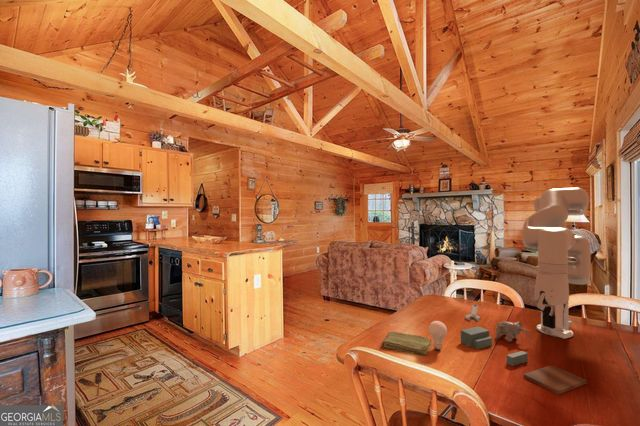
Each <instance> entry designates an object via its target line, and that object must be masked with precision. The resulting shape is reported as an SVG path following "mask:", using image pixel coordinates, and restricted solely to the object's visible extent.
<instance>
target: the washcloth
mask: <svg viewBox="0 0 640 426" xmlns="http://www.w3.org/2000/svg"><path fill="white" fill-rule="evenodd" d="M431 342H432V340H431V338H428V337H425V336H422V335H416V334H409V333H408V334H407V333H403V332H398V331H389V332H387V334H386V336H385V338H384V340H382V342H381V346H382V347H383V348H385V349H388V350H393V351H398V352H399V351H400V352H407V353H410V354H411V353H413V354H418V355H422V356H427V353H428V351H429V349H430V345H431Z"/></svg>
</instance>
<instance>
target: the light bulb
mask: <svg viewBox="0 0 640 426" xmlns="http://www.w3.org/2000/svg"><path fill="white" fill-rule="evenodd" d="M428 332H429V334H430V336H431V337H432V341H433V347H434V349H436V350H442V349H443V343H444V341H443V340H444V339H445V337H446V336H447V334H448V328H447V326H446V324H444V322H443V321H440V320H434V321H431V323H430V324H428Z"/></svg>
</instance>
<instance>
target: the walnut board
mask: <svg viewBox="0 0 640 426" xmlns="http://www.w3.org/2000/svg"><path fill="white" fill-rule="evenodd" d="M523 377H524V378H525V379H527V380H528V381H531V382H533V383H534V384H537V385H538V386H541V387H542V388H545V389H546V390H549V391H550V392H552V393H554V394H556V395H561V394H564V393H566V392H568V391H571V390H574V389H576V388H579V387H582V386H584V385H586V383H587V382H588V381H587V380H586V379H584V378H582V377H580V376H578V375H575V374H574V373H571V372H569V371H566V370H564V369H562V368H559V367H557V366H555V365H553V364H550V365H548V366H545V367H541V368H538V369H535V370H532V371H529V372H525V373H524V374H523Z"/></svg>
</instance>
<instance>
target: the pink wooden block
mask: <svg viewBox="0 0 640 426" xmlns="http://www.w3.org/2000/svg"><path fill="white" fill-rule="evenodd" d="M546 304H548V303H547V302H546ZM546 308H548V309H549V307H547V306H546ZM553 316H555V328H554V329H551V328H548V327H545V326H543V332H546V333H549V334H552V335H555V336H558V337H557V338H561V339H568V338H572V337H573V336H572V332H573V331H572V332H570V331H567V330H564V329H563V304H560V305H556V306H554V309H553ZM555 336H554V337H555Z"/></svg>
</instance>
